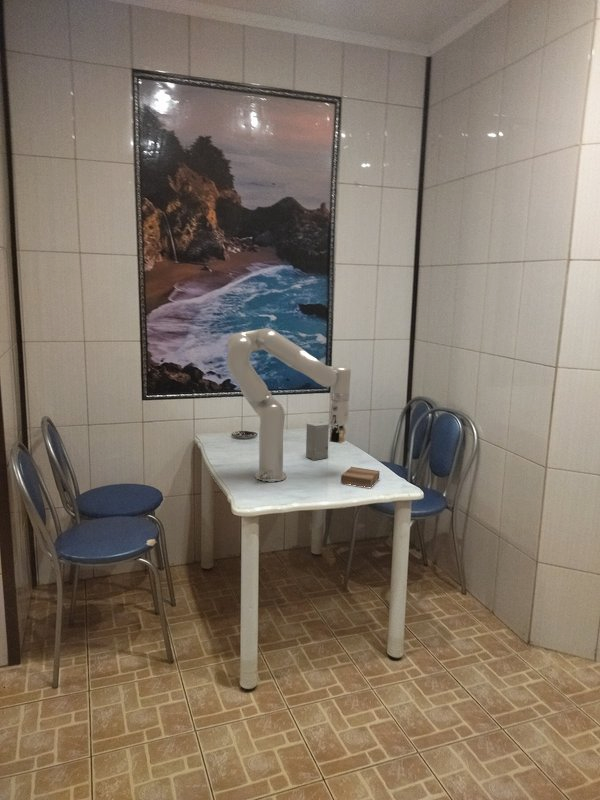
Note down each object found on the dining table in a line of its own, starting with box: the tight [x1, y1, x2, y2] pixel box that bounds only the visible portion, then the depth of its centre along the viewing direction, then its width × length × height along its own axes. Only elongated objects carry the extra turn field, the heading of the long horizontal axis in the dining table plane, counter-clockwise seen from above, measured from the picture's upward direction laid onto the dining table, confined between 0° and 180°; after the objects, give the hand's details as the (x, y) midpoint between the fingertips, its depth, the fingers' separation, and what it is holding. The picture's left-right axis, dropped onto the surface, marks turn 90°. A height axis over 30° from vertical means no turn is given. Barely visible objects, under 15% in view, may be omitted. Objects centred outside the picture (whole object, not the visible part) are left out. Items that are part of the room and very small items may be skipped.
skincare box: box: [305, 421, 330, 461], centre depth 265 cm, size 8×7×16 cm
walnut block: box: [340, 466, 380, 488], centre depth 236 cm, size 12×12×4 cm
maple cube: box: [328, 427, 347, 444], centre depth 243 cm, size 5×5×5 cm
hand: (337, 439), depth 243 cm, fingers closed on maple cube, 5 cm apart
